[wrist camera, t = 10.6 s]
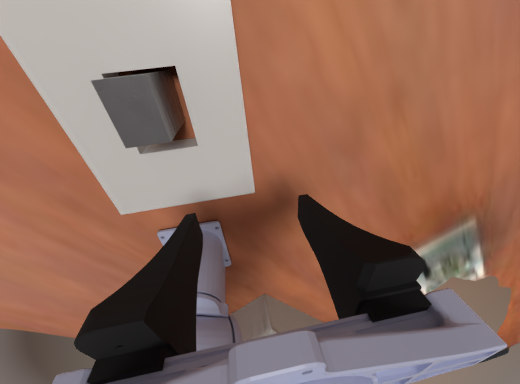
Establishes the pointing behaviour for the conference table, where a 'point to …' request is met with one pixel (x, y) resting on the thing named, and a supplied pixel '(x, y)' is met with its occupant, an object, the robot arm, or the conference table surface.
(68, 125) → the block
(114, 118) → the gray rectangular block
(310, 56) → the conference table surface
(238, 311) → the box
